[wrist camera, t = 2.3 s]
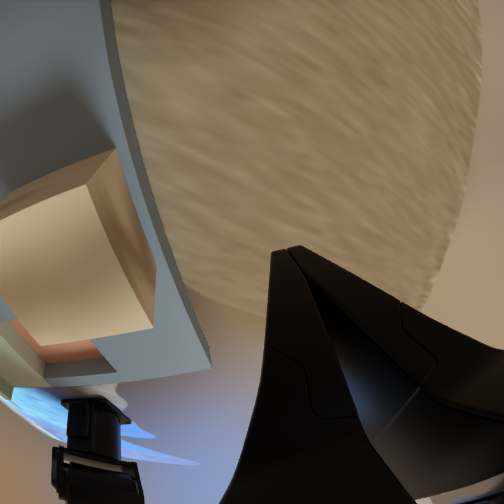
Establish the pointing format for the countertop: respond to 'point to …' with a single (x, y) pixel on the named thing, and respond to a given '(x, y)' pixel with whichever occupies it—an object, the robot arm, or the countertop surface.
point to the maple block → (77, 254)
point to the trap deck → (66, 153)
